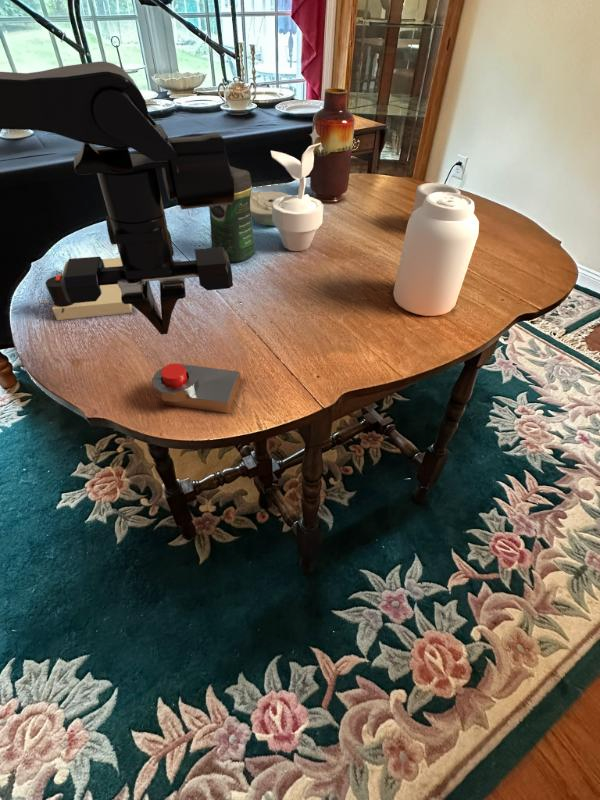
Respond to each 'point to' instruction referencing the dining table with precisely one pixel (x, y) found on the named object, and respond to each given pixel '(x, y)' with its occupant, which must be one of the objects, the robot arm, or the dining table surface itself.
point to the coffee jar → (234, 220)
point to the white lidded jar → (436, 254)
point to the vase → (332, 147)
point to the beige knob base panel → (102, 306)
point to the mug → (431, 188)
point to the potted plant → (297, 203)
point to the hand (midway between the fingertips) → (164, 332)
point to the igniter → (201, 389)
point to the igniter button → (174, 375)
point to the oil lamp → (263, 206)
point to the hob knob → (57, 291)
